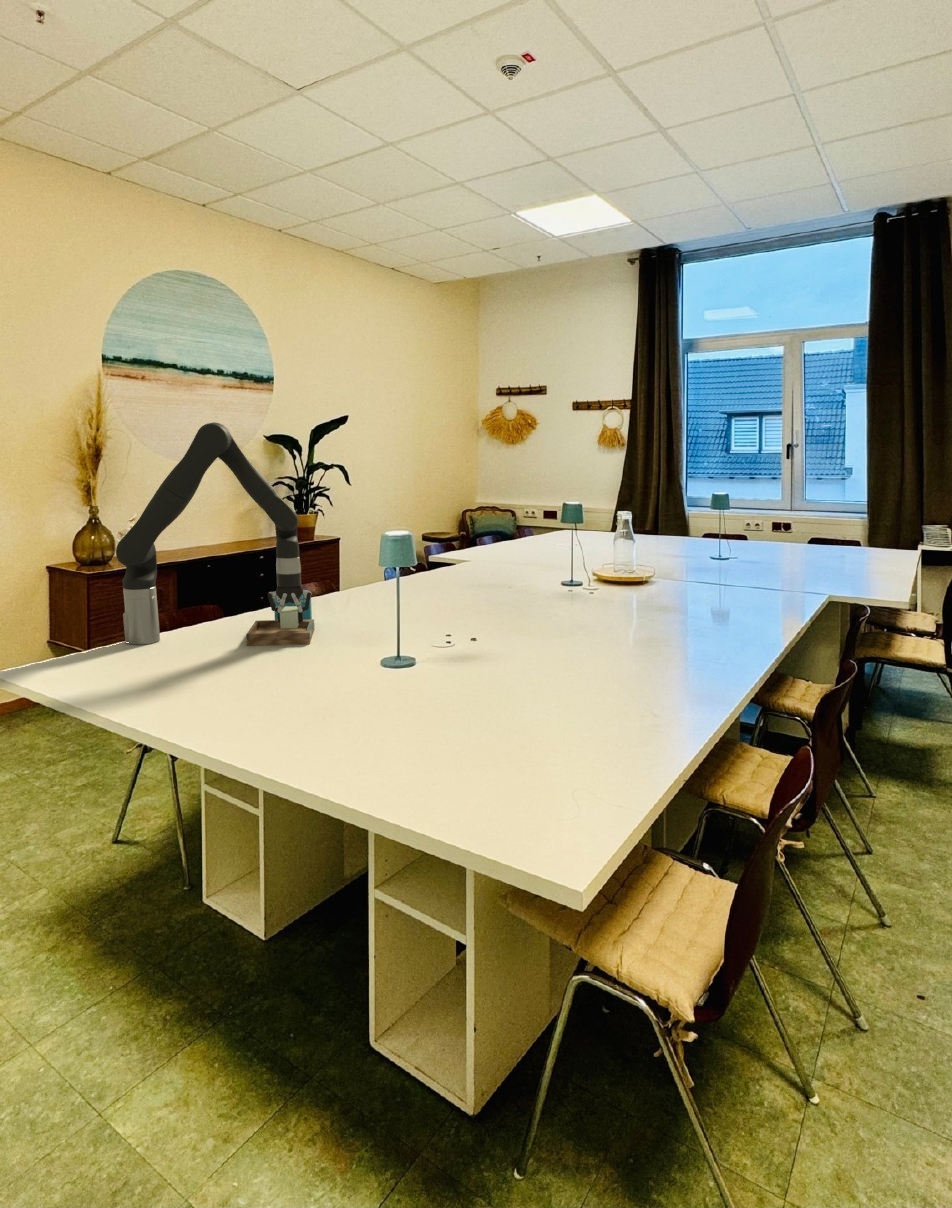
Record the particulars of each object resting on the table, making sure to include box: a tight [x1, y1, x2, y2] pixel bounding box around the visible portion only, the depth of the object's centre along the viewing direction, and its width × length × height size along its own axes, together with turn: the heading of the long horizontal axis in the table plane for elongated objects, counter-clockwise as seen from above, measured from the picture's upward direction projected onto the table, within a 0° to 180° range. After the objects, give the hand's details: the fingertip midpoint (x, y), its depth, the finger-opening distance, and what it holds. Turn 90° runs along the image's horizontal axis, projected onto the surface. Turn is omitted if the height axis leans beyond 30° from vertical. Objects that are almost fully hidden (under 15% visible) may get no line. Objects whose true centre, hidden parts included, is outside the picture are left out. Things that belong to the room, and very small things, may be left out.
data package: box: [273, 589, 313, 620], centre depth 250 cm, size 12×4×12 cm, turn 97°
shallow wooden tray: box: [246, 618, 315, 647], centre depth 234 cm, size 19×20×4 cm
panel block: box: [280, 606, 299, 629], centre depth 233 cm, size 5×10×5 cm, turn 6°
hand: (291, 623), depth 234 cm, fingers closed on panel block, 5 cm apart
